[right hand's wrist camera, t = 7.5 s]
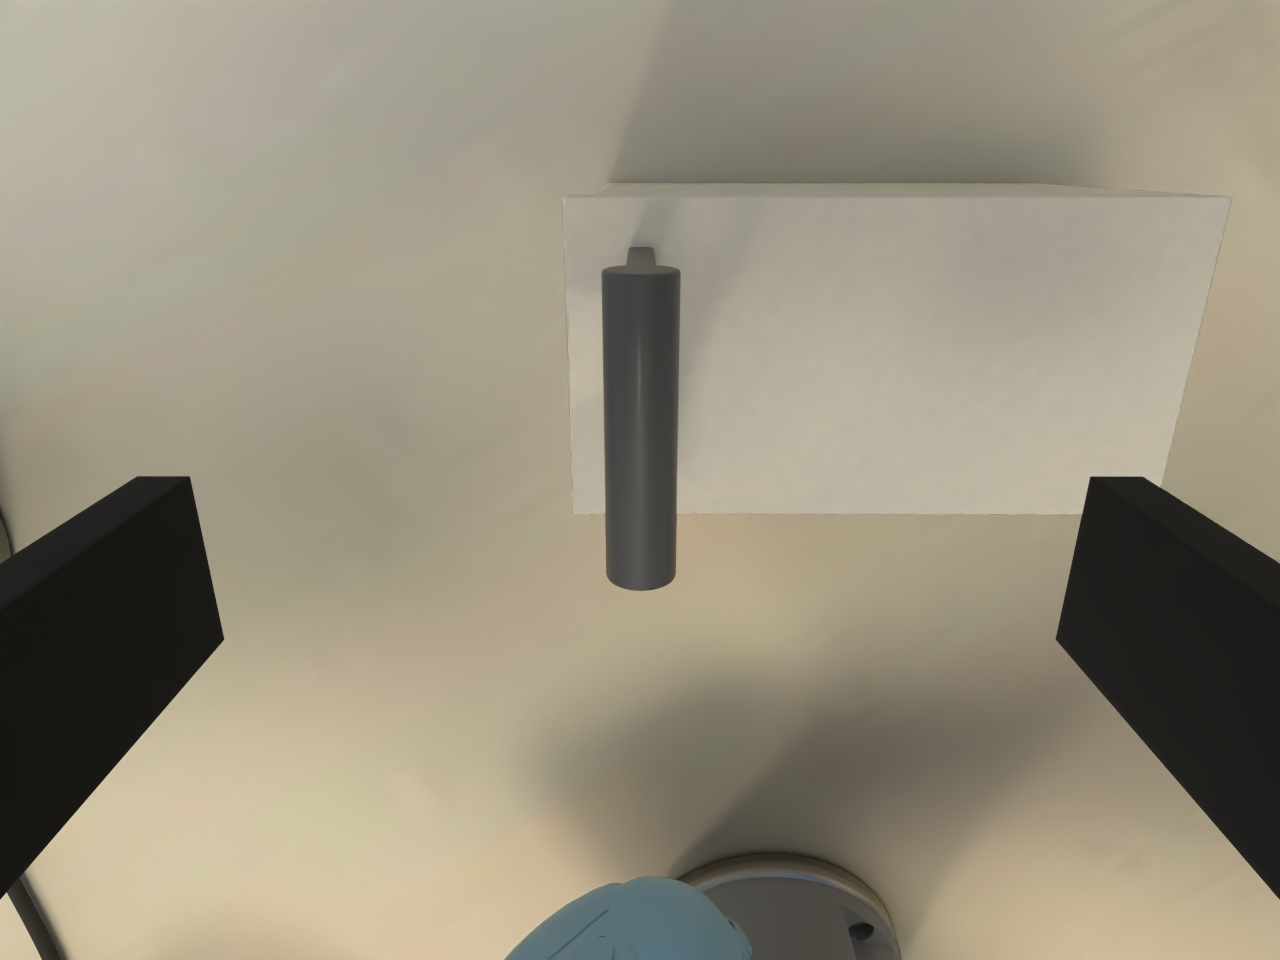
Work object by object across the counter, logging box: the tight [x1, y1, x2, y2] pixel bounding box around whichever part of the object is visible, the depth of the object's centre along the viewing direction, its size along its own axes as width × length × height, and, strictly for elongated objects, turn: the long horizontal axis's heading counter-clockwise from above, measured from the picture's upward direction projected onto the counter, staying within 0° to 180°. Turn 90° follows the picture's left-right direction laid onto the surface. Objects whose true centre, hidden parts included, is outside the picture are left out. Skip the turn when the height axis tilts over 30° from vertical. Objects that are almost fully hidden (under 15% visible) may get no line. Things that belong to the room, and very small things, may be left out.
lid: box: [563, 195, 1232, 591], centre depth 21 cm, size 18×9×8 cm, turn 90°
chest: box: [595, 183, 1199, 195], centre depth 30 cm, size 17×9×11 cm, turn 90°
